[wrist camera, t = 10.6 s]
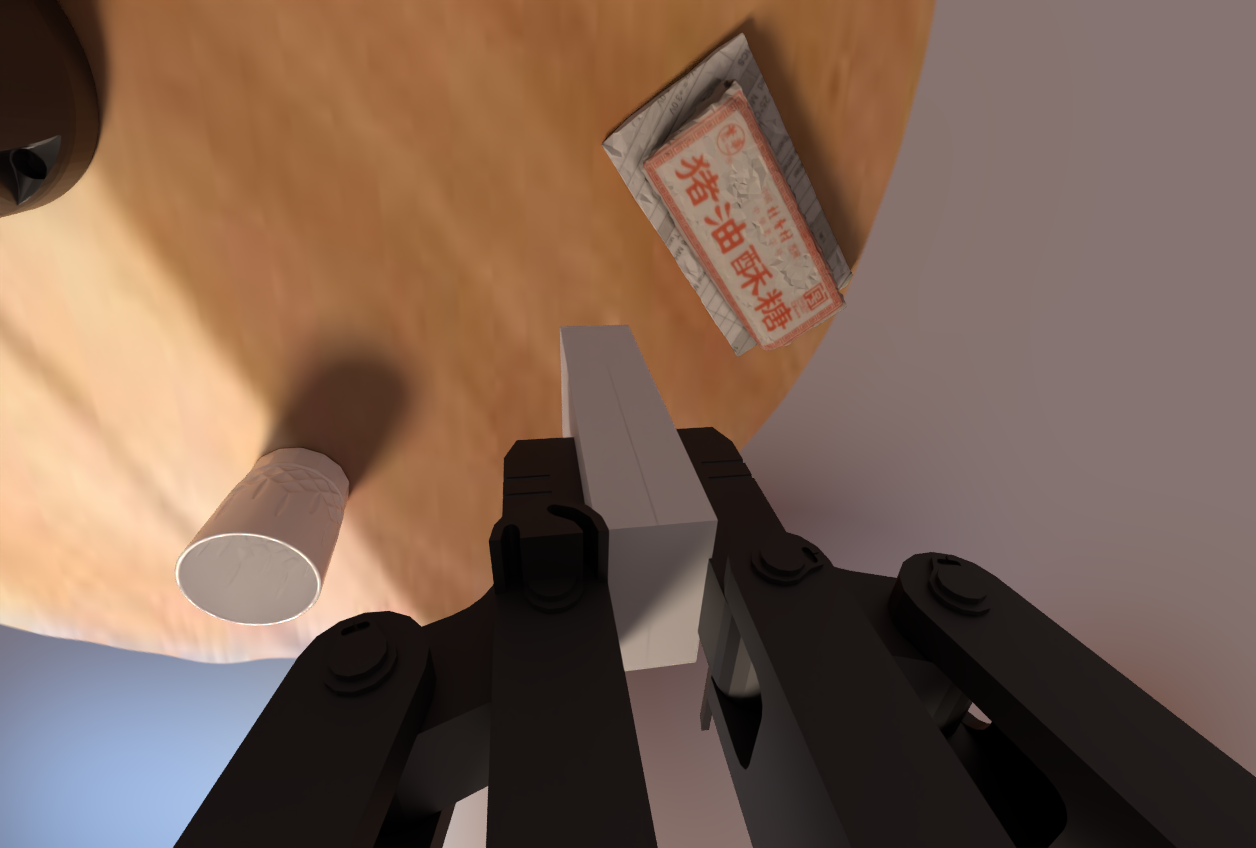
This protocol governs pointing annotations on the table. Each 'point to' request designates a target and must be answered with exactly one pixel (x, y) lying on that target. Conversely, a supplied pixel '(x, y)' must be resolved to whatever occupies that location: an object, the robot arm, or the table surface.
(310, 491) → the white cup
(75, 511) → the table surface
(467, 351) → the table surface
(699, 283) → the packaged product
